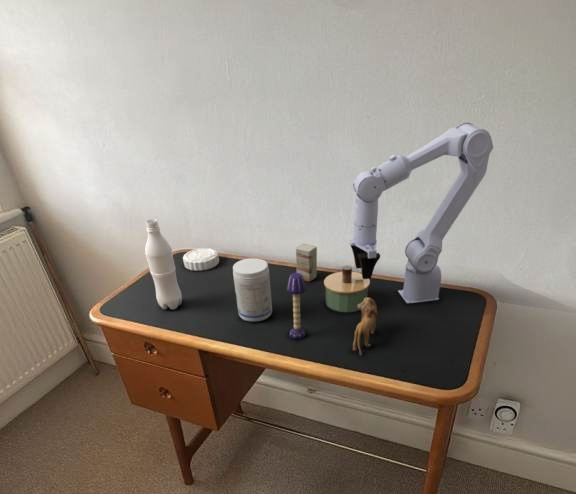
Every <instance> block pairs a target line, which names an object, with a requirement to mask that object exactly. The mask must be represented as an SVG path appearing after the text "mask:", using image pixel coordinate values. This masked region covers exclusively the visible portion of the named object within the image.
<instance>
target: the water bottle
mask: <svg viewBox="0 0 576 494" xmlns="http://www.w3.org/2000/svg"><path fill="white" fill-rule="evenodd" d="M145 226H146V233H147V239H146V243H145V247H144V254H145V257H146V260H147V264H148V268H149V273H150V275H151V277H152V280H153V283H154V288H155V296H156V297H155V298H156V301H157V304H158V305H159V307H160V308H161V309H162V310H168V308H169V310H176V309H177V308H178V306H181V305H182V303H183V302H182V301H183V293H182V290H181V288H180V286H179V283H178V280H177V271H176V265H175V264H176V263H175V260H174V256H173V250H172V246H171V244H170V243H169V242H168V241H167V239H166V238H165V237H164V236H163V234H162V233H161V227H160V225H159V222H158V219H157V218H150V219H147V220H145Z"/></svg>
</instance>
